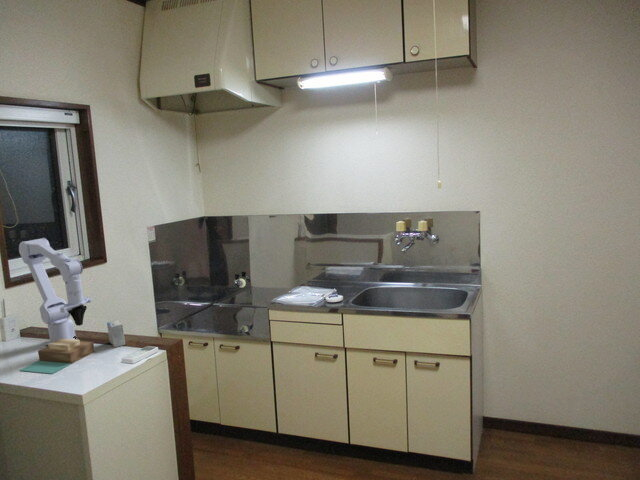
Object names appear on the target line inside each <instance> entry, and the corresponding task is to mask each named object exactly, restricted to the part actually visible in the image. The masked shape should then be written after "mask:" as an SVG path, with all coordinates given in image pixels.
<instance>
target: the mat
mask: <svg viewBox="0 0 640 480" xmlns="http://www.w3.org/2000/svg"><path fill="white" fill-rule="evenodd" d="M70 365H72V364H71V363H60V362H48V361H39V360H37V361H35V362H33V363H31V364H29V365H27V366H25V367H23V368H21V369H19V371H20V372H28V373H37V374H45V375H46V374H49V375H53V374H56V373H58V372H60V371H61V370H63V369H65V368H67V367H69V366H70Z"/></svg>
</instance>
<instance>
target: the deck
mask: <svg viewBox="0 0 640 480" xmlns="http://www.w3.org/2000/svg"><path fill="white" fill-rule="evenodd" d="M37 353H38V361H48V362H60V363H71V364H70V365H72V364H74V363H76V362H78V361H79V360H81V359H83V358H85V357H87V356H89V355H92V354H93V353H95V345H94V341H91V340H90V341H87V340H80V345H79V346H77V347H75V348H73V349H71V350H69V351H68V350H55V349H49V345H47V346H46V347H43V348H41V349H40V350H38V351H37Z"/></svg>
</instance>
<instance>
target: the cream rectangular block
mask: <svg viewBox="0 0 640 480" xmlns="http://www.w3.org/2000/svg"><path fill="white" fill-rule="evenodd" d="M80 341H81V340H80V339H78V338H76V339H63V338H61V339H58V340H56V341H54V342H52V343H50V344H49V345H48V346H49V349H55V350H68V351H69V350H71V349H73V348H75V347H77V346H79V345H80Z"/></svg>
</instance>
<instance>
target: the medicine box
mask: <svg viewBox="0 0 640 480" xmlns="http://www.w3.org/2000/svg"><path fill="white" fill-rule="evenodd" d="M106 325H107V331H108V340H109V343H110V344H111V345H112V346H113V347H114V348H118V347H121V346H125V345H126V341H125V339H126V338H125V332H124V331H125V330H124V326H123V323H122V322H120V320H118V319H116V320H112V321H108V322H106Z"/></svg>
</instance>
